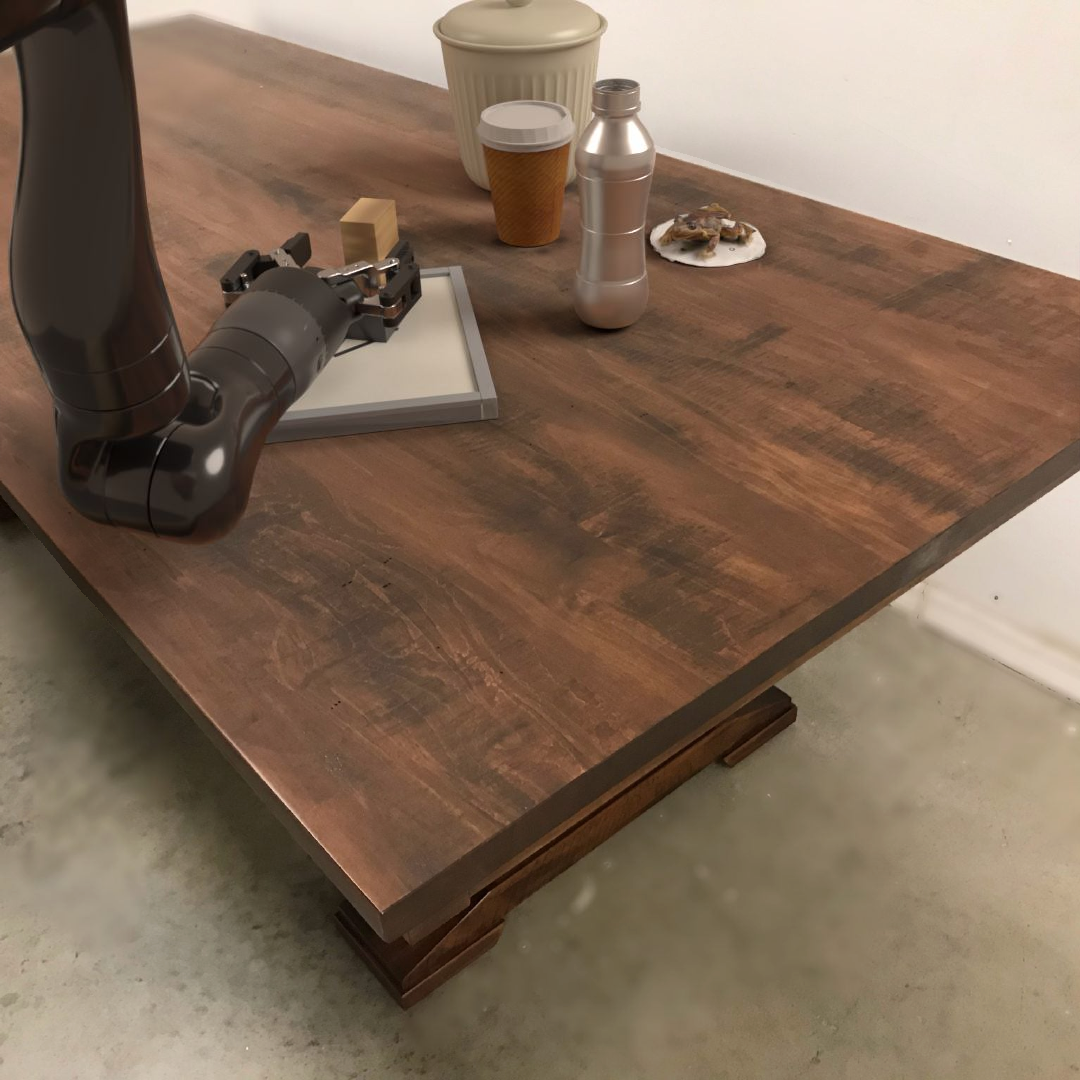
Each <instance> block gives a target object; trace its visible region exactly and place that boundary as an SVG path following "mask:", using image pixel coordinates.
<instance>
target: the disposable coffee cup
mask: <svg viewBox="0 0 1080 1080" xmlns="http://www.w3.org/2000/svg"><path fill="white" fill-rule="evenodd" d="M575 129H576V126H575V124H574V122H573V121H572V118H571V113H570V111H569V110H568V109H567V108H566V107H564V106H562V105H559V104H556V103H552V102H546V101H536V100H523V101H511V102H504V103H500V104H496V105H493V106H491V107H488V108H487V109H485V110H484V111H483V112H482V114H481V117H480V123H479V125H478V126H477V129H476V130H477V134H478V135H479V137H480V140H481V142H482V144H483V150H484V155H485V161H486V168H487V172H488V178H489V184H490V190H491V191H490V195H491V201H492V207H493V213H494V218H495V224H496V230H497V236H498V237H497V238H498V239H499V240H500V241H502V242H503V243H505V244H507V245H511V246H517V247H523V248H524V247H525V248H526V247H527V248H529V247H539V246H544V245H548V244H550V243H553V242H555V241H556V240H557V239H558V238H559V237H560V235H561V233H560V231H561V223H562V215H563V206H564V198H565V190H566V187H565V183H566V174H567V166H568V157H569V149H570V141H571V139H572V138H573V133H574V132H575Z"/></svg>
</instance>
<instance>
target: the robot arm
mask: <svg viewBox="0 0 1080 1080" xmlns="http://www.w3.org/2000/svg"><path fill="white" fill-rule="evenodd" d="M129 23H130V22H129V11H128V2H127V0H0V54H2V53H3V52H5V51H7V50H9V49H11V52H12V57H13V60H14V67H15V72H16V79H17V86H18V99H19V101H18V102H19V139H18V151H17V152H18V154H17V165H16V167H17V168H16V176H15V183H14V193H13V199H12V208H11V209H12V210H11V218H10V225H9V235H8V243H7V245H8V246H7V247H8V248H7V268H8V269H7V273H8V274H7V275H8V284H9V285H8V286H9V293H10V299H11V303H12V307H13V312H14V314H15V318H16V321H17V323H18V326H19V328H20V331H21V333H22V335H23V338H24V341H25V343H26V345H27V347H28V349H29V351H30V353H31V355H32V358H33V360H34V362H35V364H36V366H37V369H38V371H39V373H40V375H41V378H42V379H43V381H44V384H45V386H46V388H47V390H48V393H49V395H50V396H51V400H52V411H53V412H52V415H53V425H54V426H53V427H54V435H55V448H56V449H55V450H56V478H57V484H58V487H59V491H60V493H61V494H62V496H63V498H64V499H65V501H66V502H67V503H68V505H69V506H70V507H71V508H72V509H73V510H74V511H75V512H76V513H78V514H79V515H80V516H81V517H83V518H84V519H85V520H86V521H87V520H88V521H89V522H91V523H93V524H96V525H99V526H102V527H106V528H111V529H115V530H120V531H123V532H127V533H132V534H136V535H141V536H144V537H149V538H153V539H157V540H162V541H165V542H170V543H174V544H178V545H183V546H189V547H203V546H208V545H212V544H214V543H216V542H218V541H220V540H222V539H224V538H225V537H227V536H228V535H230V534H231V533H232V532H234V531H235V529H236V528H238V526H239V525H240V524H241V521H242V520H243V517H244V515H245V514H246V510H247V507H248V504H249V500H250V494H251V492H252V491H251V490H252V485H253V480H254V476H255V472H256V469H257V466H258V463H259V459H260V457H261V454H262V452H263V449H264V445H265V444H264V443H265V441H266V438H267V436H268V434H269V433H270V432H271V431H272V429H273V428H274V426H275V425H276V424H277V422H278V421H279V420H280V419H281V417H282V416H283V415H284V413H285V412H286V411H287V410H288V408H289V407H290V406H291V405H292V404H294V403H295V402H296V401H297V400H298V399H299V398H301V397H302V396H303V394H304V393H305V392H306V391H307V390H308V389H309V387H310V386H311V385H312V383H313V382H314V381H315V379H316V378H317V377H318V375H319V374H320V373H321V371H322V370H323V369H324V367H325V366H326V365H327V363H328V362H329V361H330V359H331V358H332V357H333V356H334V354H335V353H336V352H337V350H338V349H339V348H340V346H341V344H342V343H343V341H344V338H345V336H346V333H347V330H348V328H349V325H350V324H351V323H353V322H355V321H357V320H359V319H361V318H362V317H363V316H364V315H372V316H380V317H381V319H382V325H383V326H384V327H386V328H392V327H396V326H397V325H398V324H399V323H400V322H401V321H402V319H403V318H404V317H405V316H406V315H407V313H408V312H409V311H410V310H411V309H412V307H413V306H414V305H415V304H416V303H417V301H418V300H419V299H420V298H421V297H422V290H421V279H420V264H419V263H417V262H415V255H414V247H413V246H410V241H409V240H401V239H399V241H398V242H397V243H396V245H395V246H394V247H393V248H392V250H391V251H390V252H389V253H388V255H387V256H386V257H385V259H384V260H381V261H378V262H376V263H373V264H370V263H368V262H366V261H364V260H363V261H359V262H356V263H353V264H350V265H347V266H345V265H344V266H342V267H339V268H334V267H329V268H321V267H319V266H318V267H317V266H307V265H306V264H307V263H308V262H309V261H310V260H311V258H312V255H313V254H312V253H313V252H312V246H311V238H310V234H309V233H308V232H305V231H304V232H302V231H298V232H297V233H296V234H295V235H294V236H292V237H290V238H289V239H287V240H286V241H285V242H284V243H283V244H282V245H281V246H280V247H276V248H275V247H274V248H271V249H269V250H268V254H261V253H260V251H259V250H258V249H249V250H246V251H244V252H243V253H242V254H241V256H240V257H238V259H237V260H236V261H235V262H234V263H233V264H232V265H231V266H230V268H228V270H227V271H226V272H225V273H224V275H222V277H221V278H220V279H219V282H220V287H221V293H222V298H223V303H224V306H225V310H224V311H223V312H222V313H221V314H220V315H219V316H218V318H216V320H215V321H214V322H213V324H212V325H211V327H210V328H209V329H208V332H207V333H206V335H205V337H204V338H202V339H201V340H200V341H199V342H198V343H197V345H196V346H195V347H193V348H192V350H191V351H190V352H189V353H188V354H186V351H185V348H184V345H183V341H182V338H181V334H180V331H179V328H178V324H177V321H176V317H175V315H174V312H173V307H172V304H171V301H170V298H169V294H168V290H167V288H166V285H165V282H164V278H163V275H162V272H161V268H160V264H159V259H158V255H157V250H156V245H155V241H154V235H153V229H152V225H151V220H150V213H149V206H148V196H147V188H146V187H147V186H146V178H145V169H144V162H143V150H142V149H143V148H142V138H141V136H142V135H141V125H140V124H141V123H140V113H139V105H138V95H137V85H136V76H135V69H134V68H135V67H134V59H133V51H132V50H133V49H132V42H131V40H132V39H131V32H130V24H129ZM305 265H306V266H305ZM304 266H305V267H304ZM384 273H385V277H386V284H383V285H380V286H378V282H377V278H378V276H379V275H381V274H384ZM358 276H360V277H361V285H362V291H361V289H360V288H359V286H358V285H357V283H356V282H355V280H354V279H353V278H355V277H358Z"/></svg>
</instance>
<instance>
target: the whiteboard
mask: <svg viewBox="0 0 1080 1080" xmlns="http://www.w3.org/2000/svg"><path fill="white" fill-rule="evenodd" d="M420 279H421V290H422V297H421V298H420V299H419V300H418V301H417V303H416V304H415V305H414V306H413V307H412V309H411V310H410V311H409V312H408V313H407V315H406V316H405V317H404V319H403V320H402V322H401V323H400V324H399V326H398V327H397V329H396V330H395V331H394V333H393V334H392V336H391V337H390V339H389V340H388V341H387V342H376V341H365V340H355V339H345V338H344V341H343V343H342V344H341V346H340V348H339V349H338V350H337V352H336V353H335V354H334V356H333V357H332V358H331V359H330V361H329V362H328V363H327V365H326V366H325V367H324V369H323V370H322V371H321V373H320V374H319V375H318V377H317V378H316V379H315V381H314V382H313V383H312V385H311V386H310V387H309V389H308V390H307V391H306V392H305V393H304V394H303V396H302V397H301V398H299V399H298V400H297V401H296V402H295V403H294V404H292V405H291V406H290V407H289V408H288V410H287V411H286V412H285V413H284V415H283V416H282V417H281V419H280V420H279V421H278V422H277V424H276V425H275V426H274V428H273V429H272V431H271V432H270V433H269V434H268V436H267V438H266V441H265V443H264V445H266V444H274V443H275V444H276V443H283V442H294V441H301V440H303V441H304V440H310V439H320V438H329V437H339V436H347V435H356V434H365V433H366V434H368V433H375V432H386V431H395V430H402V429H412V428H423V427H431V426H441V425H449V424H459V423H467V422H477V421H487V420H495V419H496V420H497V419H499V412H498V411H499V410H498V409H499V408H498V396H497V393H496V389H495V385H494V382H493V381H494V380H493V379H492V375H491V371H490V367H489V363H488V360H487V356H486V353H485V350H484V344H483V341H482V337H481V334H480V330H479V327H478V323H477V319H476V316H475V312H474V308H473V305H472V300H471V298H470V294H469V289H468V286H467V283H466V280H465V276H464V272H463V268H462V265H451V266H443V267H433V268H421V269H420Z"/></svg>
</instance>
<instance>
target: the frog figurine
mask: <svg viewBox="0 0 1080 1080" xmlns="http://www.w3.org/2000/svg"><path fill="white" fill-rule="evenodd" d="M731 216H732V214H731V213H730V212H729V211H728V210H727V209H725V208H723V207H722V206H720V205H719V203H710V205H706V206H705V205H704V206H702V207H699V208H698V209H697V210H695V211H692V212H689V213H685V214H678V215H677V216H675V218H671V219H669V220H666V221H662V222H660V223H659V224H658V225H656V226H655V227H653V228H652V229H651V232H650V236H649V241H650V244H651V246H653V250H654V251H655V252H657V253H659V254H660V257H662V258H663V259H667V260H668V261H669V262H672V263H674V262H678V263H679V262H680V263H681V264H682V263H683V264H686V265H690V266H696V267H707V268H712V267H713V268H717V267H728V266H733V265H735V264H742V263H743V264H744V263H747V262H750V261H751V262H752V261H754V260H758V259H761V257H762V256H764V254H765V253H766V248H767V244H766V241H765V239H764V238H763V236H762V234H761V233H760V231H759V230H758V228H757V227H756V226H755V225H753V224H750V223H748V221H743V220H740V221H735V220H730V219H731Z"/></svg>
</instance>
